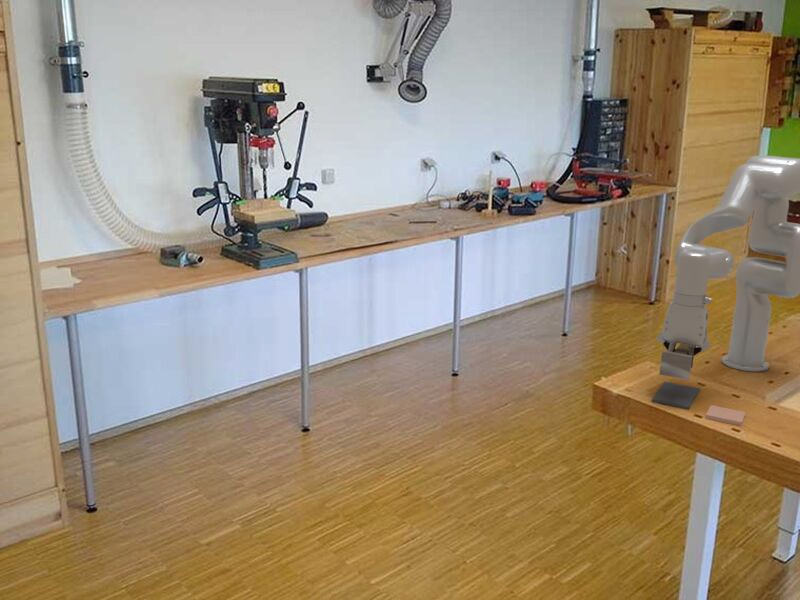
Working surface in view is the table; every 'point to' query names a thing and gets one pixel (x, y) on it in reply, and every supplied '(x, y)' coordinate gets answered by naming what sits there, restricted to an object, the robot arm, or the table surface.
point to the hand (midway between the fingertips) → (679, 368)
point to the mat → (676, 395)
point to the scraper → (676, 363)
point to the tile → (725, 415)
